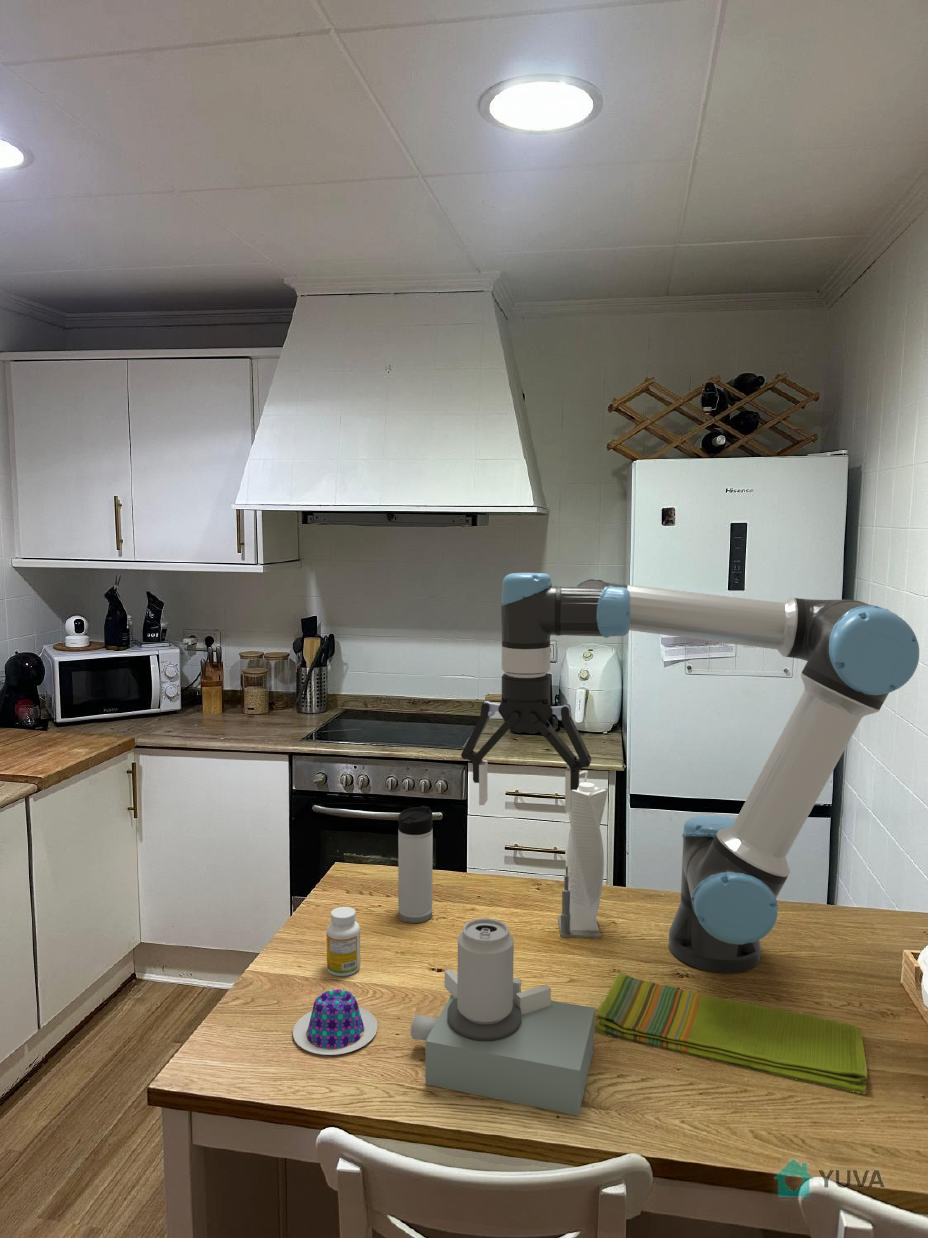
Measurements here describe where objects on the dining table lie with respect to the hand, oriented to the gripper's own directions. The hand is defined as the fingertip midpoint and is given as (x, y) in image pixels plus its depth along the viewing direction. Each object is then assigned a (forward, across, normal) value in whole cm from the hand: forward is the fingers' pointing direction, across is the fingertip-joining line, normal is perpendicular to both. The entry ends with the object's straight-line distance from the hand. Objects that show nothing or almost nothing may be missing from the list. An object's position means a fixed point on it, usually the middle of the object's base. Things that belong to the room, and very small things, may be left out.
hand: (525, 806), depth 133 cm
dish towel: (+29, -31, +7) cm, 43 cm away
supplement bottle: (+28, +29, +6) cm, 41 cm away
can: (+21, +2, +23) cm, 31 cm away
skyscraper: (+29, -7, -19) cm, 35 cm away
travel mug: (+28, +23, -15) cm, 39 cm away
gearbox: (+28, 0, +23) cm, 36 cm away
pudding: (+28, +24, +22) cm, 43 cm away
